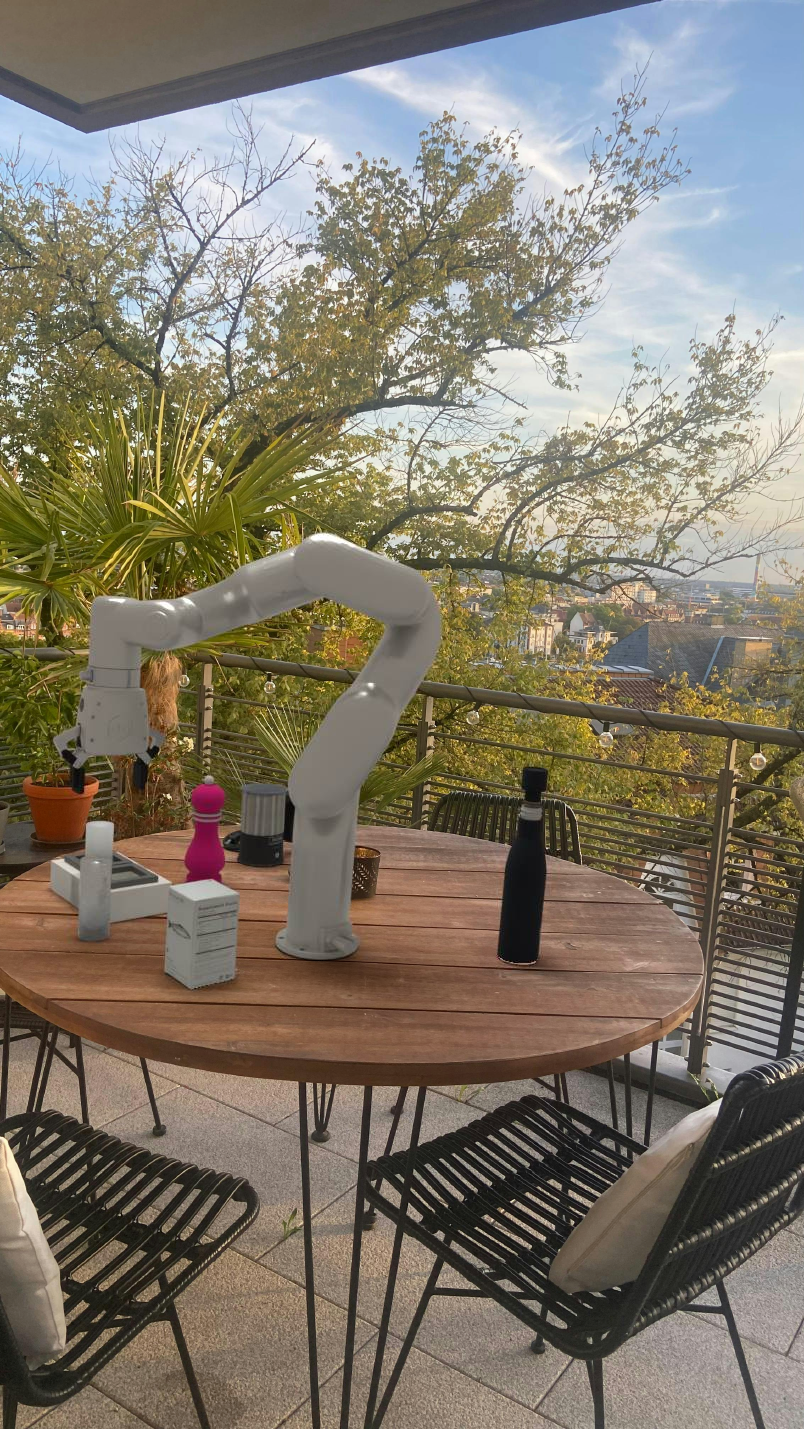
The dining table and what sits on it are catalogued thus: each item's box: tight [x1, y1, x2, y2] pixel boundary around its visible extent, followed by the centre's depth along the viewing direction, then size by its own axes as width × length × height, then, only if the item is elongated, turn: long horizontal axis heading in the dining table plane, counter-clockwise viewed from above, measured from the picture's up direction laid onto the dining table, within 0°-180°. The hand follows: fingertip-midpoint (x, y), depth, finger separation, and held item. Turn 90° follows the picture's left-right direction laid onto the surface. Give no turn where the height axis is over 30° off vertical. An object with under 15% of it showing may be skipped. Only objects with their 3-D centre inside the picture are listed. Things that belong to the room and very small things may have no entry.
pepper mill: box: [183, 775, 226, 884], centre depth 174 cm, size 7×7×20 cm
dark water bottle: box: [496, 765, 549, 963], centre depth 150 cm, size 6×6×30 cm
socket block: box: [49, 820, 173, 924], centre depth 162 cm, size 20×12×12 cm, turn 42°
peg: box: [77, 855, 112, 943], centre depth 146 cm, size 4×4×12 cm
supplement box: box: [164, 879, 241, 990], centre depth 135 cm, size 7×7×13 cm
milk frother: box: [222, 782, 295, 868], centre depth 195 cm, size 14×16×15 cm
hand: (108, 790), depth 148 cm, fingers open, 9 cm apart
